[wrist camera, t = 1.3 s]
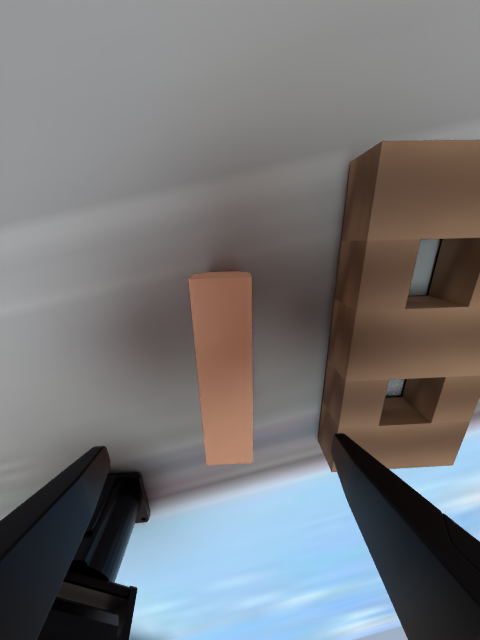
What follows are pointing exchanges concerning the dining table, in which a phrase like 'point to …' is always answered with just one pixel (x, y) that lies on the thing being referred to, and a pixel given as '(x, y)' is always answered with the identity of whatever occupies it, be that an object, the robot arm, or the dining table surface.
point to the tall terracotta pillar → (224, 363)
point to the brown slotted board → (406, 305)
